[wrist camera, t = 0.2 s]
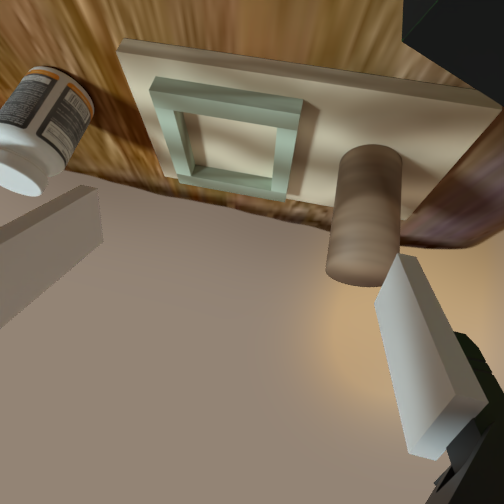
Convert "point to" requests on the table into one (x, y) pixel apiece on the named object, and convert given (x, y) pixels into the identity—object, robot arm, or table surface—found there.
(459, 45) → the puzzle toy
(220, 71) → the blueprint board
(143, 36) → the table surface
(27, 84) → the pill bottle
